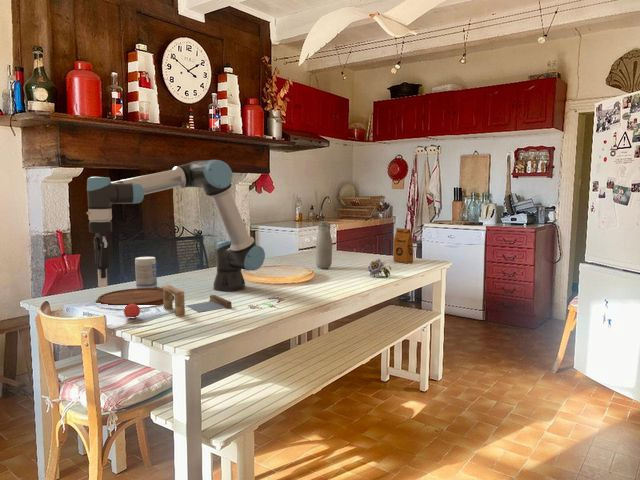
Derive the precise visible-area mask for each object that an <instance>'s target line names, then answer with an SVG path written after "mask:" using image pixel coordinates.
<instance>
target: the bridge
mask: <svg viewBox="0 0 640 480" xmlns="http://www.w3.org/2000/svg"><path fill="white" fill-rule="evenodd" d="M162 289H163V305H162V306H163V309H164V308H165V309H167V310H173V308H174V312H175V313H174V315H175V317H184V316H186V311H185V310H186V309H185V307H186V305H185V291H184V290H182V289H179V288H177V287H175V286H172V285H170V284H169V285H163V286H162ZM172 294H173V296H174V304H173V300H172ZM173 306H174V307H173ZM165 309H164V310H165Z"/></svg>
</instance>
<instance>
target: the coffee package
mask: <svg viewBox="0 0 640 480" xmlns="http://www.w3.org/2000/svg"><path fill="white" fill-rule="evenodd" d="M395 231H396V232H395V234H394V238H393V261H394V262H397V263H401V264H412V263H414V252H415V251H414V240H413V236H412V235H413V234H412V231H411V229H410V228H401V227H396V229H395Z"/></svg>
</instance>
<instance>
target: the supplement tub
mask: <svg viewBox="0 0 640 480" xmlns="http://www.w3.org/2000/svg"><path fill="white" fill-rule="evenodd" d="M134 264H135V265H134V268H135V271H134V272H135V285H136V286H135V288H157V287H158V282H157V281H158V280H157V260H156V257H155V256H139V257H135V258H134Z"/></svg>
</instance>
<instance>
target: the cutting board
mask: <svg viewBox="0 0 640 480" xmlns="http://www.w3.org/2000/svg"><path fill="white" fill-rule="evenodd" d="M173 300H175V295H174V294H172V301H173ZM95 302H96V303H101V304H108V305H129V304H136V305H159V306H161V305H162V306H164V305H163V288H157V287H156V288H137V287H135V288H127V289H120V290H114V291H113V290H112V291H110V292H105V293H103V294H101V295H99V296H98V297H97V299H96V300H95V301H94V303H95Z"/></svg>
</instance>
